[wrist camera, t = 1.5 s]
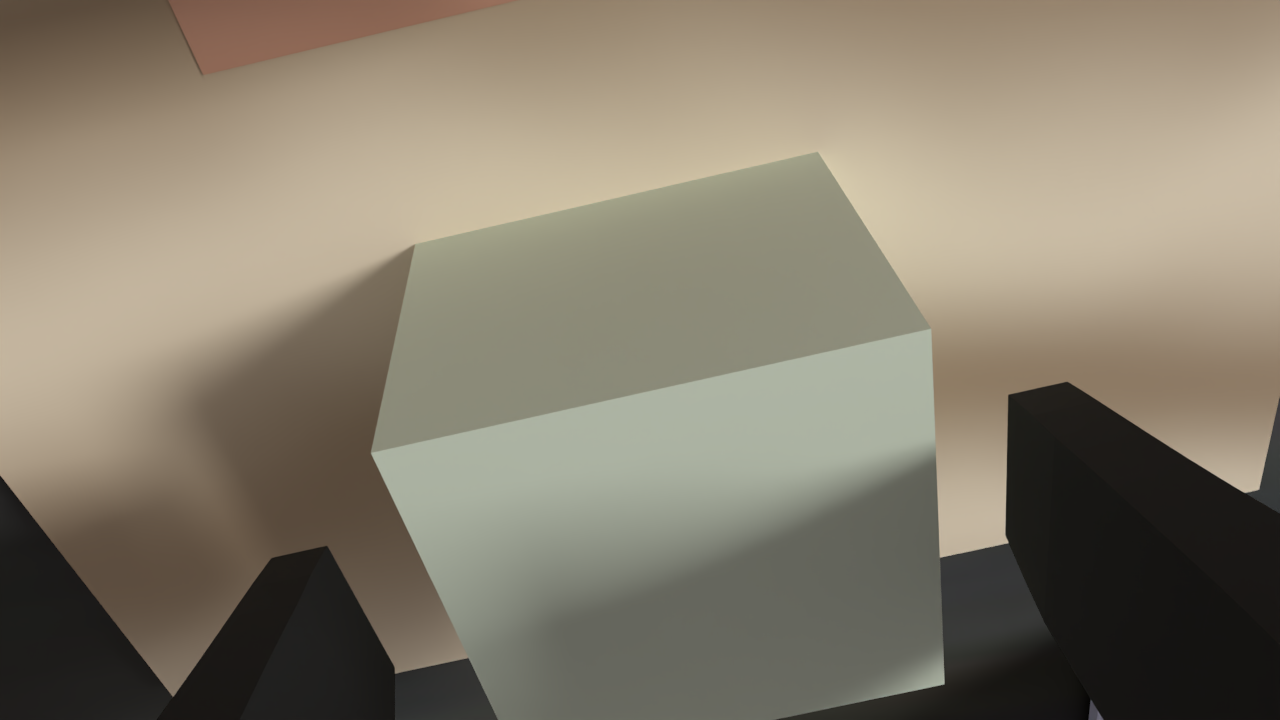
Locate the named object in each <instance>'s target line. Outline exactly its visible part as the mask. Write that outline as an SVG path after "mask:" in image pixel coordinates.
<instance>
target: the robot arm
mask: <svg viewBox="0 0 1280 720" xmlns="http://www.w3.org/2000/svg"><path fill="white" fill-rule="evenodd" d="M1005 536H1006V538H1007V540H1008V542H1009V545H1010V547H1011V549H1012V552H1013V554H1014V556H1015V558H1016V561H1017V563H1018V565H1019V568H1020V570H1021V572H1022V574H1023V577H1024V579H1025V581H1026V583H1027V586H1028V588H1029V590H1030V592H1031V594H1032V596H1033V599H1034V601H1035V603H1036V605H1037V607H1038V609H1039V611H1040V614H1041V616H1042V618H1043V620H1044V622H1045V624H1046V625H1047V627H1048V629H1049V631H1050V632H1051V634H1052V636H1053V637H1054V639H1055V641H1056V642H1057V644H1058V646H1059V647H1060V649H1061V651H1062V652H1063V654H1064V656H1065V657H1066V659H1067V661H1068V662H1069V664H1070V666H1071V667H1072V669H1073V671H1074V672H1075V674H1076V676H1077V677H1078V679H1079V681H1080V682H1081V684H1082V686H1083V687H1084V689H1085V691H1086V692H1087V694H1088V696H1089V697H1090V699H1091V701H1090V710H1089V720H1280V514H1279V513H1278V512H1276V511H1274V510H1272V509H1271V508H1269V507H1267V506H1266V505H1264V504H1262V503H1261V502H1259V501H1257V500H1255V499H1254V498H1252V497H1250V496H1249V495H1247V494H1245V493H1244V492H1242V491H1240V490H1239V489H1237V488H1235V487H1234V486H1232V485H1230V484H1229V483H1227V482H1226V481H1224V480H1222V479H1221V478H1219V477H1217V476H1216V475H1214V474H1212V473H1211V472H1209V471H1208V470H1206V469H1204V468H1203V467H1201V466H1200V465H1198V464H1196V463H1195V462H1193V461H1191V460H1190V459H1188V458H1187V457H1185V456H1183V455H1182V454H1180V453H1179V452H1177V451H1176V450H1174V449H1172V448H1171V447H1169V446H1168V445H1166V444H1165V443H1163V442H1161V441H1160V440H1158V439H1157V438H1155V437H1154V436H1152V435H1150V434H1149V433H1147V432H1146V431H1144V430H1143V429H1141V428H1140V427H1138V426H1136V425H1135V424H1133V423H1132V422H1130V421H1129V420H1127V419H1126V418H1124V417H1122V416H1121V415H1119V414H1118V413H1116V412H1115V411H1113V410H1112V409H1110V408H1109V407H1107V406H1105V405H1104V404H1102V403H1101V402H1099V401H1098V400H1096V399H1095V398H1093V397H1091V396H1090V395H1088V394H1087V393H1085V392H1084V391H1082V390H1080V389H1079V388H1077V387H1076V386H1074V385H1072V384H1071V383H1069V382H1063V383H1059V384H1054V385H1050V386H1045V387H1041V388H1036V389H1032V390H1027V391H1023V392H1018V393H1014V394H1009V395H1008V428H1007V477H1006V526H1005ZM157 720H395V667H394V665H393V663H392V661H391V660H390V658H389V656H388V654H387V652H386V651H385V649H384V647H383V645H382V643H381V642H380V640H379V638H378V636H377V634H376V633H375V631H374V629H373V627H372V625H371V624H370V622H369V620H368V618H367V616H366V615H365V613H364V611H363V609H362V607H361V606H360V604H359V602H358V600H357V598H356V597H355V595H354V593H353V591H352V589H351V588H350V586H349V584H348V582H347V580H346V578H345V577H344V575H343V573H342V571H341V569H340V568H339V566H338V564H337V562H336V560H335V559H334V557H333V555H332V553H331V551H330V550H329V548H328V546H323V547H318V548H314V549H309V550H305V551H300V552H296V553H291V554H287V555H282V556H278V557H273V558H271V559H270V561H269V562H268V563H267V565H266V566H265V567H264V569H263V570H262V571H261V573H260V574H259V575H258V577H257V578H256V580H255V581H254V582H253V584H252V585H251V587H250V588H249V589H248V591H247V592H246V594H245V595H244V597H243V598H242V599H241V601H240V602H239V604H238V605H237V607H236V608H235V609H234V611H233V612H232V614H231V615H230V617H229V618H228V620H227V621H226V622H225V624H224V625H223V627H222V628H221V630H220V631H219V633H218V634H217V635H216V637H215V638H214V640H213V641H212V643H211V644H210V646H209V647H208V648H207V650H206V651H205V653H204V654H203V656H202V657H201V659H200V660H199V661H198V663H197V664H196V666H195V667H194V668H193V670H192V671H191V673H190V674H189V675H188V677H187V678H186V680H185V681H184V682H183V684H182V685H181V687H180V688H179V689H178V691H177V692H176V694H175V695H174V696H173V698H172V699H171V701H170V702H169V703H168V705H167V706H166V708H165V709H164V710H163V712H162V713H161V715H160V716H159V717H158V719H157Z"/></svg>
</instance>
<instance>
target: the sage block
mask: <svg viewBox="0 0 1280 720" xmlns="http://www.w3.org/2000/svg"><path fill="white" fill-rule="evenodd" d="M371 455H372V457H373V459H374V461H375V463H376V465H377V467H378V469H379V471H380V473H381V475H382V478H383V480H384V482H385V484H386V486H387V488H388V490H389V492H390V494H391V496H392V499H393V501H394V503H395V505H396V507H397V509H398V511H399V513H400V515H401V517H402V519H403V522H404V524H405V526H406V528H407V530H408V532H409V534H410V536H411V538H412V540H413V542H414V545H415V547H416V549H417V551H418V553H419V555H420V557H421V559H422V561H423V563H424V566H425V568H426V570H427V572H428V574H429V576H430V578H431V580H432V582H433V584H434V586H435V589H436V591H437V593H438V595H439V597H440V599H441V601H442V603H443V605H444V607H445V609H446V612H447V614H448V616H449V618H450V620H451V622H452V624H453V626H454V628H455V630H456V633H457V635H458V637H459V639H460V641H461V643H462V645H463V647H464V649H465V651H466V653H467V656H468V658H469V660H470V662H471V664H472V666H473V668H474V670H475V672H476V674H477V676H478V679H479V681H480V683H481V685H482V687H483V689H484V691H485V693H486V695H487V697H488V700H489V702H490V704H491V706H492V708H493V710H494V712H495V714H496V716H497V718H498V720H775V719H780V718H785V717H790V716H794V715H799V714H804V713H809V712H814V711H819V710H823V709H828V708H833V707H838V706H843V705H847V704H852V703H857V702H862V701H867V700H872V699H876V698H881V697H886V696H891V695H896V694H900V693H905V692H910V691H915V690H920V689H924V688H929V687H934V686H939V685H944V684H945V682H944V655H943V628H942V602H941V575H940V548H939V522H938V495H937V468H936V442H935V415H934V388H933V362H932V335H931V328H930V326H929V324H928V323H927V321H926V320H925V318H924V317H923V315H922V313H921V312H920V310H919V309H918V307H917V306H916V304H915V303H914V301H913V299H912V298H911V296H910V295H909V293H908V292H907V290H906V288H905V287H904V285H903V284H902V282H901V281H900V279H899V278H898V276H897V274H896V273H895V271H894V270H893V268H892V267H891V265H890V264H889V262H888V260H887V259H886V257H885V256H884V254H883V253H882V251H881V249H880V248H879V246H878V245H877V243H876V242H875V240H874V239H873V237H872V235H871V234H870V232H869V231H868V229H867V228H866V226H865V224H864V223H863V221H862V220H861V218H860V217H859V215H858V214H857V212H856V210H855V209H854V207H853V206H852V204H851V203H850V201H849V200H848V198H847V196H846V195H845V193H844V192H843V190H842V189H841V187H840V185H839V184H838V182H837V181H836V179H835V178H834V176H833V175H832V173H831V171H830V170H829V168H828V167H827V165H826V164H825V162H824V160H823V159H822V157H821V156H820V154H819V153H818V152H814V153H810V154H806V155H801V156H797V157H792V158H788V159H784V160H779V161H775V162H771V163H766V164H762V165H758V166H753V167H749V168H745V169H740V170H736V171H731V172H727V173H723V174H718V175H714V176H710V177H705V178H701V179H697V180H692V181H688V182H684V183H679V184H675V185H670V186H666V187H662V188H657V189H653V190H649V191H644V192H640V193H636V194H631V195H627V196H623V197H618V198H614V199H609V200H605V201H601V202H596V203H592V204H588V205H583V206H579V207H575V208H570V209H566V210H562V211H557V212H553V213H548V214H544V215H540V216H535V217H531V218H527V219H522V220H518V221H514V222H509V223H505V224H501V225H496V226H492V227H488V228H483V229H479V230H474V231H470V232H466V233H461V234H457V235H453V236H448V237H444V238H440V239H435V240H431V241H427V242H422V243H418V244H415V248H414V252H413V257H412V262H411V266H410V271H409V276H408V280H407V285H406V290H405V295H404V299H403V304H402V309H401V313H400V318H399V323H398V327H397V332H396V337H395V341H394V346H393V351H392V356H391V360H390V365H389V370H388V374H387V379H386V384H385V388H384V393H383V398H382V403H381V407H380V412H379V417H378V421H377V426H376V431H375V435H374V440H373V445H372V449H371Z"/></svg>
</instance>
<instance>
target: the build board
mask: <svg viewBox="0 0 1280 720" xmlns="http://www.w3.org/2000/svg"><path fill="white" fill-rule="evenodd" d="M814 152H818V153H819V154H820V156H821V157H822V159H823V160H824V162H825V164H826V165H827V167H828V168H829V170H830V171H831V173H832V175H833V176H834V178H835V179H836V181H837V182H838V184H839V185H840V187H841V189H842V190H843V192H844V193H845V195H846V196H847V198H848V200H849V201H850V203H851V204H852V206H853V207H854V209H855V210H856V212H857V214H858V215H859V217H860V218H861V220H862V221H863V223H864V224H865V226H866V228H867V229H868V231H869V232H870V234H871V235H872V237H873V239H874V240H875V242H876V243H877V245H878V246H879V248H880V249H881V251H882V253H883V254H884V256H885V257H886V259H887V260H888V262H889V264H890V265H891V267H892V268H893V270H894V271H895V273H896V274H897V276H898V278H899V279H900V281H901V282H902V284H903V285H904V287H905V288H906V290H907V292H908V293H909V295H910V296H911V298H912V299H913V301H914V303H915V304H916V306H917V307H918V309H919V310H920V312H921V313H922V315H923V317H924V318H925V320H926V321H927V323H928V324H929V326H930V328H931V335H932V362H933V388H934V415H935V442H936V468H937V495H938V522H939V548H940V557H945V556H950V555H955V554H959V553H964V552H969V551H973V550H978V549H983V548H987V547H992V546H997V545H1002V544H1006V543H1009V542H1008V540H1007V538H1006V536H1005V526H1006V477H1007V428H1008V395H1009V394H1014V393H1018V392H1023V391H1027V390H1032V389H1036V388H1041V387H1045V386H1050V385H1054V384H1059V383H1063V382H1069V383H1071V384H1072V385H1074V386H1076V387H1077V388H1079V389H1080V390H1082V391H1084V392H1085V393H1087V394H1088V395H1090V396H1091V397H1093V398H1095V399H1096V400H1098V401H1099V402H1101V403H1102V404H1104V405H1105V406H1107V407H1109V408H1110V409H1112V410H1113V411H1115V412H1116V413H1118V414H1119V415H1121V416H1122V417H1124V418H1126V419H1127V420H1129V421H1130V422H1132V423H1133V424H1135V425H1136V426H1138V427H1140V428H1141V429H1143V430H1144V431H1146V432H1147V433H1149V434H1150V435H1152V436H1154V437H1155V438H1157V439H1158V440H1160V441H1161V442H1163V443H1165V444H1166V445H1168V446H1169V447H1171V448H1172V449H1174V450H1176V451H1177V452H1179V453H1180V454H1182V455H1183V456H1185V457H1187V458H1188V459H1190V460H1191V461H1193V462H1195V463H1196V464H1198V465H1200V466H1201V467H1203V468H1204V469H1206V470H1208V471H1209V472H1211V473H1212V474H1214V475H1216V476H1217V477H1219V478H1221V479H1222V480H1224V481H1226V482H1227V483H1229V484H1230V485H1232V486H1234V487H1235V488H1237V489H1239V490H1240V491H1242V492H1244V493H1246V492H1251V491H1255V490H1259V487H1260V483H1261V478H1262V473H1263V469H1264V464H1265V460H1266V455H1267V451H1268V446H1269V442H1270V437H1271V433H1272V428H1273V424H1274V419H1275V414H1276V410H1277V405H1278V401H1279V396H1280V0H0V476H1V477H2V478H3V479H4V481H5V482H6V483H7V485H8V486H9V487H10V488H11V490H12V491H13V492H14V494H15V495H16V496H17V497H18V499H19V500H20V501H21V503H22V504H23V505H24V506H25V508H26V509H27V510H28V512H29V513H30V514H31V515H32V517H33V518H34V519H35V520H36V522H37V523H38V524H39V526H40V527H41V528H42V529H43V531H44V532H45V533H46V535H47V536H48V537H49V538H50V540H51V541H52V542H53V544H54V545H55V546H56V547H57V549H58V550H59V551H60V553H61V554H62V555H63V556H64V558H65V559H66V560H67V562H68V563H69V564H70V565H71V567H72V568H73V569H74V571H75V572H76V573H77V574H78V576H79V577H80V578H81V579H82V581H83V582H84V583H85V585H86V586H87V587H88V588H89V590H90V591H91V592H92V594H93V595H94V596H95V597H96V599H97V600H98V601H99V603H100V604H101V605H102V606H103V608H104V609H105V610H106V612H107V613H108V614H109V615H110V617H111V618H112V619H113V621H114V622H115V623H116V624H117V626H118V627H119V628H120V630H121V631H122V632H123V633H124V635H125V636H126V637H127V638H128V640H129V641H130V642H131V644H132V645H133V646H134V647H135V649H136V650H137V651H138V653H139V654H140V655H141V656H142V658H143V659H144V660H145V662H146V663H147V664H148V665H149V667H150V668H151V669H152V671H153V672H154V673H155V674H156V676H157V677H158V678H159V680H160V681H161V682H162V683H163V685H164V686H165V687H166V689H167V690H168V691H169V692H170V694H171V695H172V696H174V695H175V694H176V692H177V691H178V689H179V688H180V687H181V685H182V684H183V682H184V681H185V680H186V678H187V677H188V675H189V674H190V673H191V671H192V670H193V668H194V667H195V666H196V664H197V663H198V661H199V660H200V659H201V657H202V656H203V654H204V653H205V651H206V650H207V648H208V647H209V646H210V644H211V643H212V641H213V640H214V638H215V637H216V635H217V634H218V633H219V631H220V630H221V628H222V627H223V625H224V624H225V622H226V621H227V620H228V618H229V617H230V615H231V614H232V612H233V611H234V609H235V608H236V607H237V605H238V604H239V602H240V601H241V599H242V598H243V597H244V595H245V594H246V592H247V591H248V589H249V588H250V587H251V585H252V584H253V582H254V581H255V580H256V578H257V577H258V575H259V574H260V573H261V571H262V570H263V569H264V567H265V566H266V565H267V563H268V562H269V561H270V559H271V558H273V557H278V556H282V555H287V554H291V553H296V552H300V551H305V550H309V549H314V548H318V547H323V546H328V548H329V550H330V551H331V553H332V555H333V557H334V559H335V560H336V562H337V564H338V566H339V568H340V569H341V571H342V573H343V575H344V577H345V578H346V580H347V582H348V584H349V586H350V588H351V589H352V591H353V593H354V595H355V597H356V598H357V600H358V602H359V604H360V606H361V607H362V609H363V611H364V613H365V615H366V616H367V618H368V620H369V622H370V624H371V625H372V627H373V629H374V631H375V633H376V634H377V636H378V638H379V640H380V642H381V643H382V645H383V647H384V649H385V651H386V652H387V654H388V656H389V658H390V660H391V661H392V663H393V665H394V667H395V673H400V672H404V671H409V670H414V669H419V668H423V667H428V666H433V665H437V664H442V663H447V662H451V661H456V660H461V659H466V658H468V656H467V653H466V651H465V649H464V647H463V645H462V643H461V641H460V639H459V637H458V635H457V633H456V630H455V628H454V626H453V624H452V622H451V620H450V618H449V616H448V614H447V612H446V609H445V607H444V605H443V603H442V601H441V599H440V597H439V595H438V593H437V591H436V589H435V586H434V584H433V582H432V580H431V578H430V576H429V574H428V572H427V570H426V568H425V566H424V563H423V561H422V559H421V557H420V555H419V553H418V551H417V549H416V547H415V545H414V542H413V540H412V538H411V536H410V534H409V532H408V530H407V528H406V526H405V524H404V522H403V519H402V517H401V515H400V513H399V511H398V509H397V507H396V505H395V503H394V501H393V499H392V496H391V494H390V492H389V490H388V488H387V486H386V484H385V482H384V480H383V478H382V475H381V473H380V471H379V469H378V467H377V465H376V463H375V461H374V459H373V457H372V455H371V449H372V445H373V440H374V435H375V431H376V426H377V421H378V417H379V412H380V407H381V403H382V398H383V393H384V388H385V384H386V379H387V374H388V370H389V365H390V360H391V356H392V351H393V346H394V341H395V337H396V332H397V327H398V323H399V318H400V313H401V309H402V304H403V299H404V295H405V290H406V285H407V280H408V276H409V271H410V266H411V262H412V257H413V252H414V248H415V244H418V243H422V242H427V241H431V240H435V239H440V238H444V237H448V236H453V235H457V234H461V233H466V232H470V231H474V230H479V229H483V228H488V227H492V226H496V225H501V224H505V223H509V222H514V221H518V220H522V219H527V218H531V217H535V216H540V215H544V214H548V213H553V212H557V211H562V210H566V209H570V208H575V207H579V206H583V205H588V204H592V203H596V202H601V201H605V200H609V199H614V198H618V197H623V196H627V195H631V194H636V193H640V192H644V191H649V190H653V189H657V188H662V187H666V186H670V185H675V184H679V183H684V182H688V181H692V180H697V179H701V178H705V177H710V176H714V175H718V174H723V173H727V172H731V171H736V170H740V169H745V168H749V167H753V166H758V165H762V164H766V163H771V162H775V161H779V160H784V159H788V158H792V157H797V156H801V155H806V154H810V153H814Z"/></svg>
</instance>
